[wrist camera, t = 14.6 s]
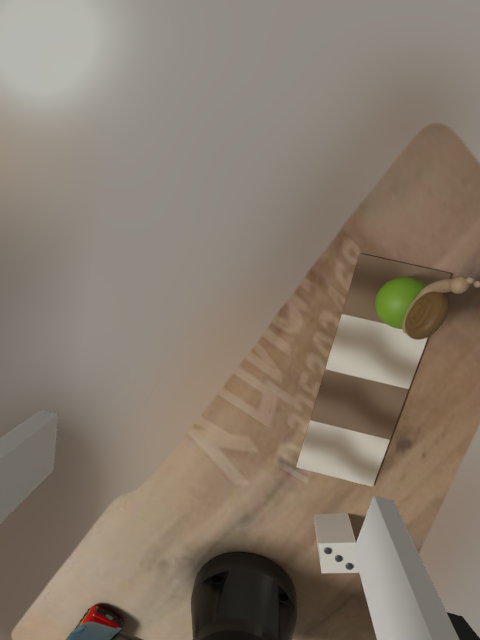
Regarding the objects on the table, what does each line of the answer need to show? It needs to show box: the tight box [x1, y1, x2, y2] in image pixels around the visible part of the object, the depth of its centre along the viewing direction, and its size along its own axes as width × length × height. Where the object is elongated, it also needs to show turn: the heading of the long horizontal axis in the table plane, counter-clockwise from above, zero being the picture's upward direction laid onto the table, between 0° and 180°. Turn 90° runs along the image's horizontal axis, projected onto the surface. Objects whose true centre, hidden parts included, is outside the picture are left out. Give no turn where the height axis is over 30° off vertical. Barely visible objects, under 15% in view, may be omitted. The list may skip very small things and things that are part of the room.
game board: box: [297, 254, 451, 487], centre depth 39 cm, size 28×10×1 cm, turn 168°
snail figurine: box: [375, 277, 480, 340], centre depth 30 cm, size 5×6×12 cm
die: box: [314, 513, 359, 573], centre depth 42 cm, size 4×4×5 cm
